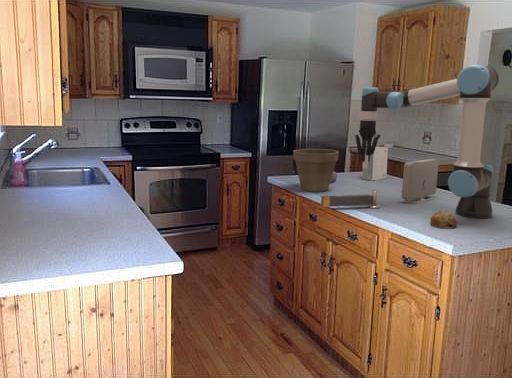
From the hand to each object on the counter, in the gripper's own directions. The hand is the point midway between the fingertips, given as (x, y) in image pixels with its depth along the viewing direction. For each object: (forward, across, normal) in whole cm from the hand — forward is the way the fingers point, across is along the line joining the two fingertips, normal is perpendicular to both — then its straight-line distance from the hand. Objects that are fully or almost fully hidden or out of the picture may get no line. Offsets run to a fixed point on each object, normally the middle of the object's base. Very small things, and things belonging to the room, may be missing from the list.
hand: (364, 168), depth 231 cm
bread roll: (+17, -15, +46) cm, 51 cm away
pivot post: (+17, 0, +13) cm, 21 cm away
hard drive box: (+17, -33, -59) cm, 70 cm away
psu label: (+17, 0, -9) cm, 19 cm away
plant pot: (+17, +15, -31) cm, 39 cm away
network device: (+17, -30, 0) cm, 35 cm away
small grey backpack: (+18, +5, -53) cm, 56 cm away
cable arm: (+15, +14, +13) cm, 25 cm away
